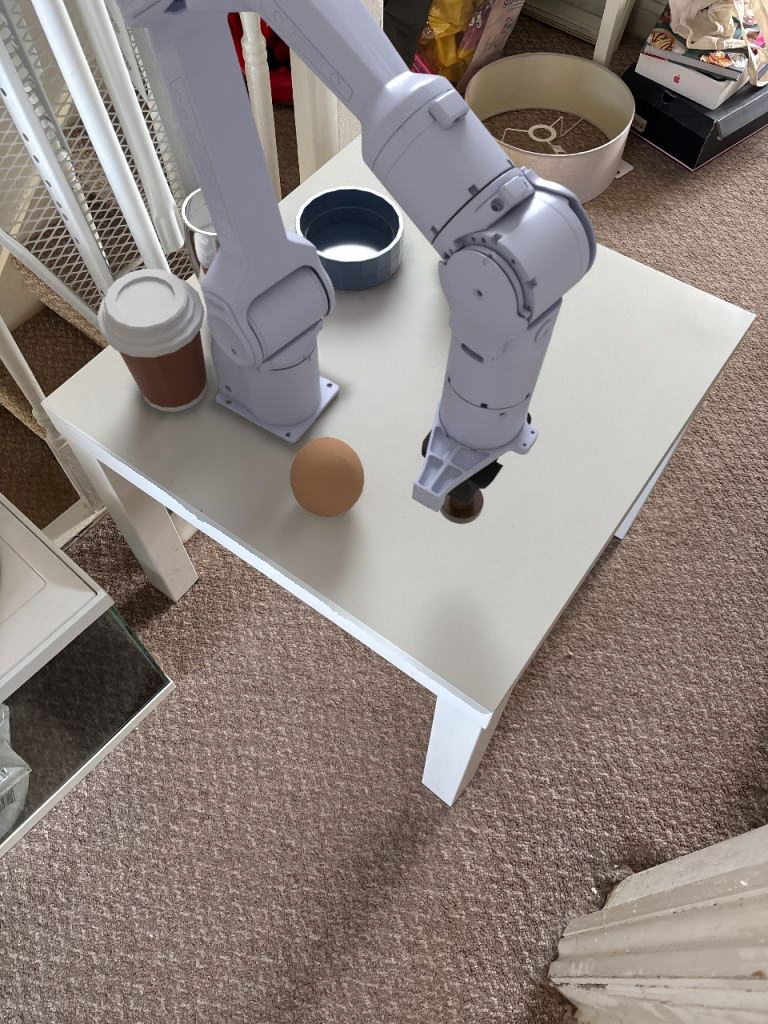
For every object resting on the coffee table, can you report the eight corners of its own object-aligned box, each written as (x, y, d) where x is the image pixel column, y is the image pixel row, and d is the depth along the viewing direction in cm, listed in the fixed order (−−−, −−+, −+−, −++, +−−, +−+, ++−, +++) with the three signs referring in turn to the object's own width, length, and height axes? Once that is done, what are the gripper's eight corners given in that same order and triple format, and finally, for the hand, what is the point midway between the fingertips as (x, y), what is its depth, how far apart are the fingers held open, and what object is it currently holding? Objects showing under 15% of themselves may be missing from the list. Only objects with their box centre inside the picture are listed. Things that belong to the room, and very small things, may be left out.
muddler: (430, 510, 64) (440, 449, 56) (452, 478, 65) (465, 415, 57) (468, 532, 63) (484, 473, 55) (489, 499, 64) (508, 438, 56)
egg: (318, 458, 73) (314, 406, 66) (377, 490, 72) (379, 440, 64) (279, 509, 70) (269, 460, 63) (339, 543, 69) (336, 497, 62)
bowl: (277, 265, 85) (273, 233, 81) (336, 206, 90) (334, 172, 86) (365, 309, 82) (365, 277, 78) (420, 245, 87) (423, 212, 83)
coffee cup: (171, 335, 80) (143, 243, 69) (240, 377, 78) (221, 289, 67) (107, 393, 76) (67, 305, 66) (177, 438, 74) (147, 355, 63)
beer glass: (248, 364, 78) (226, 248, 65) (193, 335, 80) (161, 216, 67) (288, 320, 81) (275, 201, 68) (234, 293, 83) (211, 171, 70)
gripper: (491, 486, 45) (463, 580, 57) (598, 326, 51) (552, 442, 63) (388, 429, 47) (382, 533, 59) (503, 282, 53) (476, 403, 65)
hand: (464, 483), depth 61 cm, fingers closed on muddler, 2 cm apart
